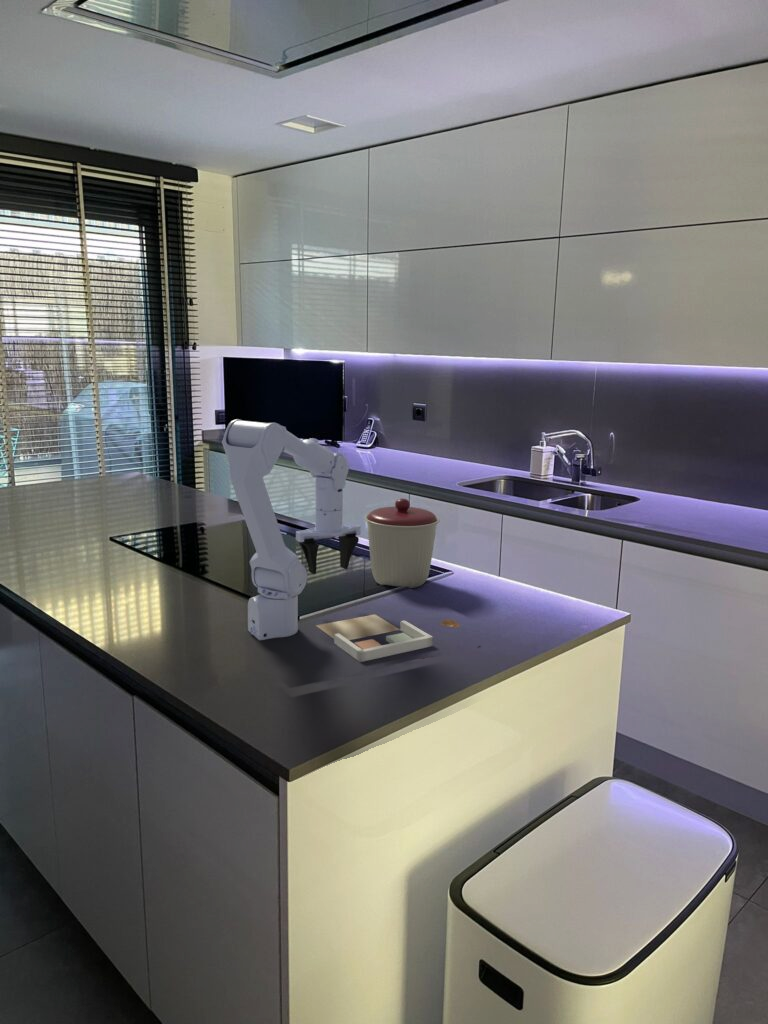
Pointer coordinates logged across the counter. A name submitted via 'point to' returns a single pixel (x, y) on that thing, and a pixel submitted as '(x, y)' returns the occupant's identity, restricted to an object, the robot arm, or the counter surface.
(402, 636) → the sage tile
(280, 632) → the robot arm
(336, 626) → the maple board
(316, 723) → the counter surface
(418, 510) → the canister
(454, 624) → the shard
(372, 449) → the counter surface
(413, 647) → the tray
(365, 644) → the terracotta tile
